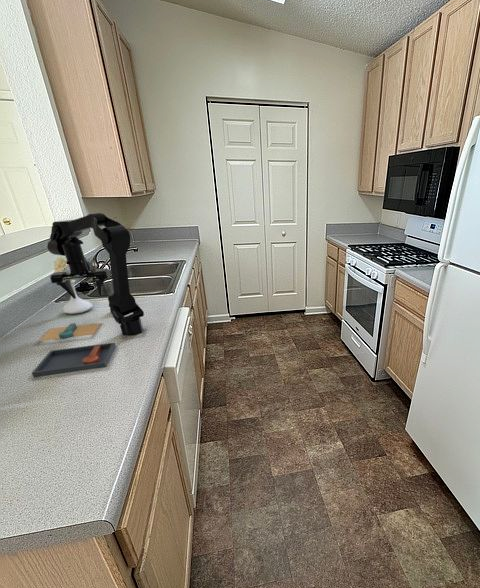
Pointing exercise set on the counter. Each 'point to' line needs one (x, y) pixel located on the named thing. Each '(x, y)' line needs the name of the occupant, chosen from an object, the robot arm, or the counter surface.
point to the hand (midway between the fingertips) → (88, 297)
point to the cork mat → (78, 331)
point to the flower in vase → (77, 303)
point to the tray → (72, 360)
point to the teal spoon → (68, 331)
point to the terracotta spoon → (93, 356)
